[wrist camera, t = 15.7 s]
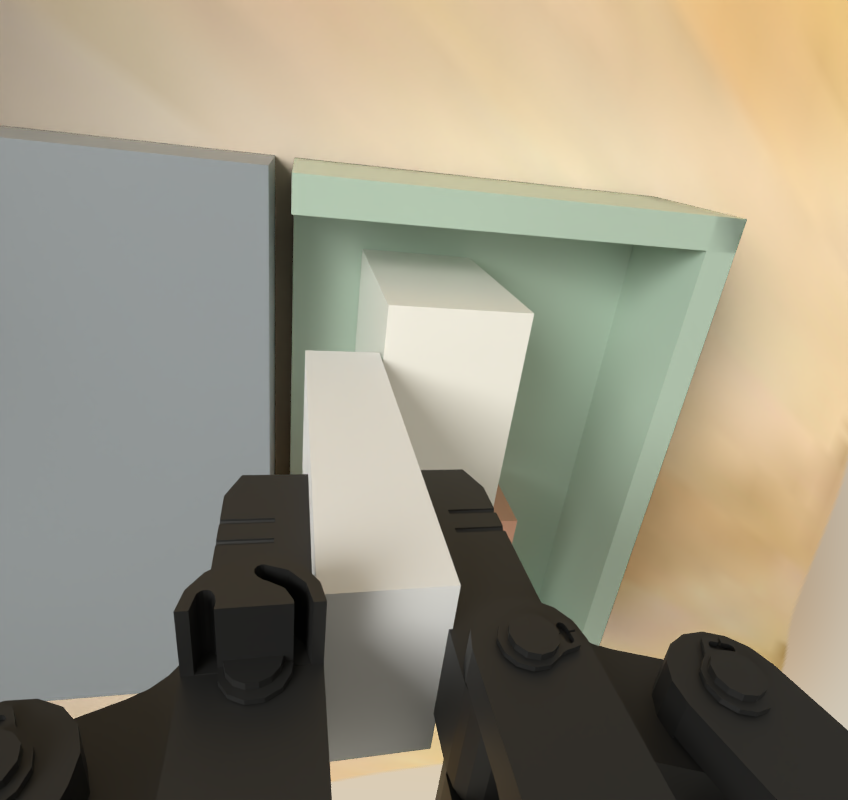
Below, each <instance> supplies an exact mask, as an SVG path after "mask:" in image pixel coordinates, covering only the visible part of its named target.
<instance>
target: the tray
mask: <svg viewBox="0 0 848 800" xmlns="http://www.w3.org/2000/svg"><path fill="white" fill-rule="evenodd" d="M291 214H292V215H294V230H293V302H292V373H291V445H290V474H303V469H302V462H303V422H304V381H305V350H313V351H344V352H355V343H356V329H357V315H358V302H359V288H360V274H361V260H362V249H368V250H381V251H393V252H405V253H418V254H430V255H442V256H454V257H467V258H470V259H471V260H472V261H474V262H475V263H476V264H477V265H478V266H479V267H481V268H482V269H483V270H484V271H485V272H486V273H488V274H489V275H490V276H491V277H492V278H493V279H495V280H496V281H497V282H498V283H499V284H500V285H502V286H503V287H504V288H505V289H506V290H507V291H509V292H510V293H511V294H512V295H513V296H514V297H516V298H517V299H518V300H519V301H520V302H521V303H522V304H524V305H525V306H526V307H527V308H528V309H529V310H531V311H532V312H533V313H534V317H533V322H532V327H531V332H530V336H529V341H528V346H527V351H526V355H525V360H524V365H523V369H522V374H521V379H520V384H519V388H518V393H517V398H516V403H515V407H514V412H513V417H512V421H511V426H510V431H509V436H508V440H507V445H506V450H505V455H504V459H503V464H502V469H501V473H500V478H499V483H498V484H499V486H500V488H501V490H502V492H503V494H504V496H505V498H506V500H507V502H508V504H509V506H510V507H511V509H512V511H513V513H514V515H515V517H516V519H517V524H516V529H515V533H514V537H513V542H512V545H513V547H514V549H515V551H516V553H517V555H518V557H519V559H520V561H521V563H522V565H523V567H524V569H525V571H526V573H527V575H528V577H529V579H530V581H531V583H532V585H533V587H534V589H535V591H536V593H537V595H538V597H539V599H540V601H541V602H542V603H544V604H546V605H549V606H552V607H554V608H556V609H557V610H558V611H560V612H561V613H563V614H564V615H566V616H567V617H568V618H570V619H571V620H573V621H574V623H575V624H576V625H577V626H578V628H579V629H580V630H581V631H582V633H583V634H584V635H585V637H586V638H587V639H588V641H589V642H590V643H592V644H595V645H598V646H599V645H600V642H601V639H602V636H603V633H604V630H605V627H606V625H607V622H608V619H609V616H610V613H611V610H612V607H613V604H614V601H615V599H616V596H617V593H618V590H619V587H620V584H621V581H622V578H623V576H624V573H625V570H626V567H627V564H628V561H629V558H630V555H631V552H632V550H633V547H634V544H635V541H636V538H637V535H638V532H639V529H640V526H641V524H642V521H643V518H644V515H645V512H646V509H647V506H648V503H649V501H650V498H651V495H652V492H653V489H654V486H655V483H656V480H657V477H658V475H659V472H660V469H661V466H662V463H663V460H664V457H665V454H666V452H667V449H668V446H669V443H670V440H671V437H672V434H673V431H674V428H675V426H676V423H677V420H678V417H679V414H680V411H681V408H682V405H683V402H684V400H685V397H686V394H687V391H688V388H689V385H690V382H691V379H692V377H693V374H694V371H695V368H696V365H697V362H698V359H699V356H700V353H701V351H702V348H703V345H704V342H705V339H706V336H707V333H708V330H709V328H710V325H711V322H712V319H713V316H714V313H715V310H716V307H717V304H718V302H719V299H720V296H721V293H722V290H723V287H724V284H725V281H726V278H727V276H728V273H729V270H730V267H731V264H732V261H733V258H734V255H735V253H736V250H737V247H738V244H739V241H740V238H741V235H742V232H743V229H744V227H745V224H746V221H747V219H743V218H739V217H735V216H731V215H727V214H723V213H719V212H715V211H711V210H707V209H703V208H699V207H695V206H691V205H687V204H683V203H679V202H674V201H670V200H666V199H662V198H658V197H652V196H643V195H634V194H625V193H615V192H606V191H597V190H588V189H579V188H569V187H560V186H551V185H542V184H532V183H523V182H514V181H505V180H496V179H486V178H477V177H468V176H459V175H450V174H440V173H431V172H422V171H413V170H404V169H394V168H385V167H376V166H367V165H358V164H348V163H339V162H330V161H321V160H312V159H302V158H295V160H294V165H293V169H292V192H291Z"/></svg>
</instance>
